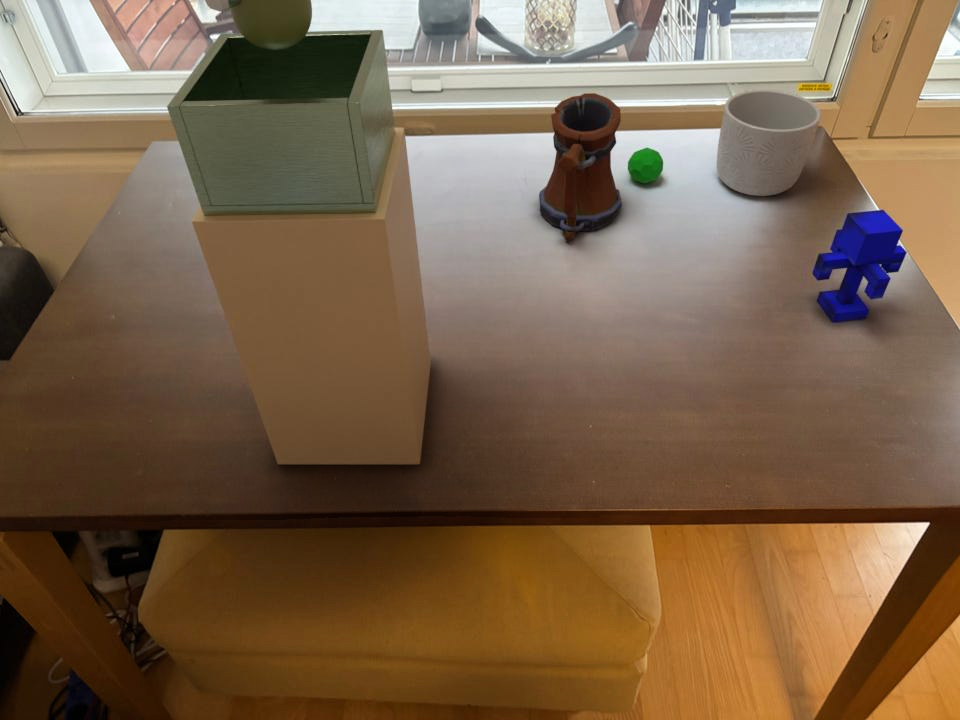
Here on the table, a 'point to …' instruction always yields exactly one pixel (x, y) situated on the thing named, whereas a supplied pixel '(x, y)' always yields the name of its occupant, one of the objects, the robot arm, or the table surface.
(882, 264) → the figurine
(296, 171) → the bin
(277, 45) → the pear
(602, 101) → the mug
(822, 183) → the table surface
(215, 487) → the table surface
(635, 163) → the polyhedron
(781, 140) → the planter
